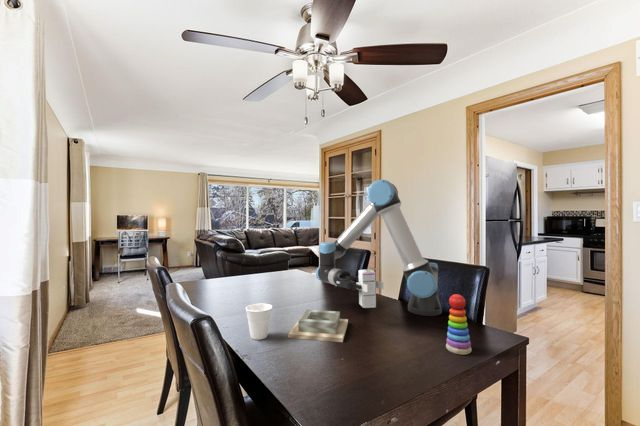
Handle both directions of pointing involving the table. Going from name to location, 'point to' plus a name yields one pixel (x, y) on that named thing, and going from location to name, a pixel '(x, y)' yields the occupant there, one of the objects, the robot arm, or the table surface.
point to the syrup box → (369, 297)
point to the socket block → (320, 326)
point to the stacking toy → (458, 327)
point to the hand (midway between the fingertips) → (375, 287)
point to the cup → (259, 320)
